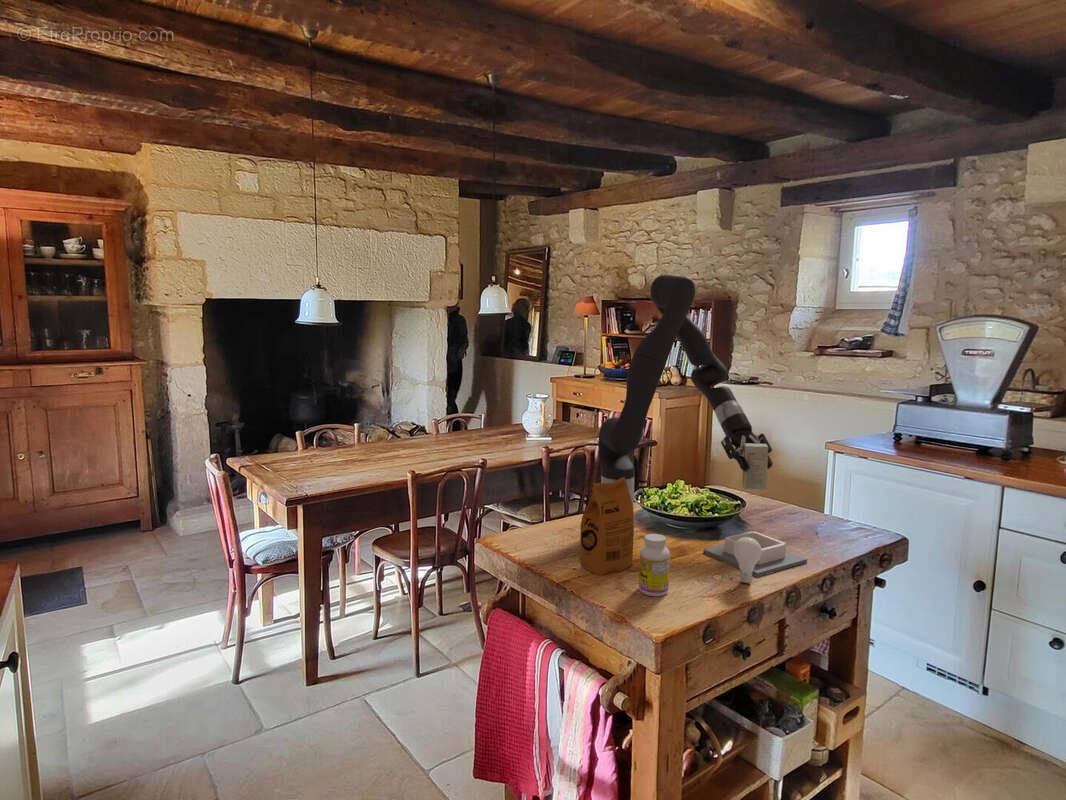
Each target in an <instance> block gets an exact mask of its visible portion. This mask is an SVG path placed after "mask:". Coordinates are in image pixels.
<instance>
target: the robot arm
mask: <svg viewBox="0 0 1066 800" xmlns="http://www.w3.org/2000/svg"><path fill="white" fill-rule="evenodd" d="M695 296H696V285H695V283H694V281H693V279H692V278H690V277H687V276H681V275H673V274H662V275H661V274H660V275H659V276H657V277H655V279H654V280H653V281H652V283H651V286H650V298H651V300H652V302H653V304H654V305H655V307H656V308H657V310H658V311H659V312H660V313H661V318H660V319H659V322H657V324H656V326H655V327H654V328H653V329H652V330H651V331H650V332H648V334H647V335H646V336H645V337H644V338H643V339H642V340H641V341H640V342H639V344H638V345H637V346H636V348H635V350H634V352H633V354H632V357H631V360H630V362H629V366H628V369H627V372H626V373H627V374H626V391H625V392H626V393H625V395H626V396H625V400H624V405H623V406H622V409H621V413H620V414H619V417H609V418H607V419H606V420H604V421H603V422H602V424H601V426H600V428H599V431H598V463H599V466H600V473H601V474H600V476H601V477H600V478H601V479H600V481H601V482H600V483H614V482H615V481H617V480H618V479H620V478H622V477H624V478H625V479H626V483H627V486H628V489H629V494H630V496H631V500H632V503H633V507H634V503H635V501H634V499H635V498H634V497H635V470H636V469H635V466H634V464H633V462H632V460H631V458H630V454H632V453H633V452H634V451H635V450H636V449H637V448H638V445H639V444H640V441H641V438H642V435H643V432H644V428H645V424H646V420H647V416H648V413H649V409H650V406H651V404H652V401H653V399H654V396H655V393H656V391H657V388H658V385H659V383H660V380H661V378H662V376H663V374H664V373H663V372H664V370H665V367H666V365H667V362H668V359H669V356H670V353H671V352H672V348H673V346H674V343H675V340H676V339H678V340H679V342H680V344H681V346H682V348H683V350H684V352H685V353H684V354H685V355H686V357H687V360H688V361H689V362H690V364H691V365H692V366H695V367H696V368H694V369H693V370H692V371H691V374H690V380H691V383H692V384H693V385H694V387H695V388H696V390H698V391H699V392H700V393H701V394H703V396H705V398H706V400H707V401H708V402H709V404H710V406H711V408H712V409H713V412H714V414H715V417H716V420H717V421H718V424H719V425H720V427H721V429H722V431H723V432H724V435H725V437H723V439H722V440H721V441H720V444H721V446H722V447H723V450H724V452H725V453H726V455H727V458H728V459H729V460H732V459H733V460H735V461H736V462H737V464H738V465H739V468H740V469H741V470H742V472H743V471H744V472H745V471H747V470H748V469H749V468H750V467H749V465H748V463H747V461H746V459H745V457H744V456H743V452H744V444H745V443H754V444H767V446H768V465H767V470H769V469H771V468H772V467H773V462H772V459H771V457H770V455H769V454H770V453H771V452H772V451H773V448H772V446H771V445H770V443H769V441H768V439H767V437H766V435H765V434H764V433H760V434H757V435H756V434H754V432H753V427H752V425H751V423H750V421H749V419H748V417H747V415H746V413H745V411H744V410H743V407H742V406H741V405H740V404H739V402H738V400H737V399H736V397H735V395H734V393H733V392H732V389H731V388H730V387H728V386H724V385H723V386H718V387H716V385H720V384H721V383H723V382H725V381H726V380H727V378H728V375H729V372H728V369H727V367H726V366H725V364H724V363H723V362H722V361H721V360H720V359H719V358H718V357H717V356H716V355H715V354H714V352H713V351H712V348H711V347H710V344H709V342H708V340H707V337H706V335H705V334H704V332H703V331H702V329H700V326H698V325H697V324H696V323H695V322H694V321H693V320H692V319H691V318H690V316H689V315H688V313H689V311H690V309H691V307H692V305H693V302H694V300H695Z"/></svg>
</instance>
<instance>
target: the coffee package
mask: <svg viewBox="0 0 1066 800" xmlns="http://www.w3.org/2000/svg"><path fill="white" fill-rule="evenodd" d="M590 489H591V491H592V494H591V495H590V498H589V502H588V504H587V506H586V507H585V510H584V511H583V514H582V516H581V521H580V543H579V544H580V545H579V546H580V547H579V562H580V565H581V567H583V568H585V569H587V571H590V572H591V573H592V574H595V575H597V576H604V575H607V574H609V573H610V572H616V573H618V572H619V573H620V572H623V571H624V570H626V569H628V568H630V567H632V566H633V562H634V561H633V559H634V539H635V537H634V533H635V529H634V528H635V525H634V524H635V516H634V515H635V514H634V506H633V503H632V500H631V496H630V494H629V489H628V486H627V483H626V479H625V478H624V477H622V478H620V479H618V480H617V481H615V482H614V483H601V482H596V483H595V482H591V484H590Z"/></svg>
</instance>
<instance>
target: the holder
mask: <svg viewBox="0 0 1066 800" xmlns="http://www.w3.org/2000/svg"><path fill="white" fill-rule="evenodd" d="M743 537H750V538H753V539H755V540H756V541H757V542H758V543H759V544H760V546H761V549H762V555H761V558H760V560H759V561H758V562H757V563H756V564H755V567H754V570H753V571H752V576H754V575H755V576H754V577H756V576H759V577H762V576H765V575H764V574H766V575H768V574H767V573H769V574H772V573H771V572H773V573H776V572H779V571H778V570H780V571H783V570H782V569H784V570H786V569H785V568H787V569H790V568H789V567H791V568H793V567H792V566H794V567H796V566H795V565H798V566H800V565H799V564H801V565H803V564H802V563H805V564H807V563H806V562H808V558H806V557H803V556H800V555H797V554H795V553H793V552H790V551H787V543H786V542H784V541H781V540H779V539H776V538H774V537H771V536H767V535H766V534H763V533H761V532H758V531H754V530H753V531H747V532H743V533H739V534H735V535H730V536H726V537H725V538H724V539H723V540H724V541H723V543H722V544H718V545H714V546H710V547H706V548H705V547H704V548H703V552H704V553H703V554H706V555H708V554H709V555H708V556H710V555H711V556H710V557H712V556H713V558H714V557H715V559H717V560H719V559H720V560H719V561H721V560H722V561H721V562H723V561H724V562H723V563H725V562H726V563H725V564H728V565H730V564H731V565H730V566H732V565H733V566H732V567H734V566H735V568H736V567H737V569H739V570H740V568H739V563H738V561H737V560H736V558H735V556H734V553H733V547H734V544H735V543H736V541H737V540H739V539H740V538H743ZM775 571H776V572H775ZM761 575H762V576H761Z"/></svg>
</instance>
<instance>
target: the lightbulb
mask: <svg viewBox="0 0 1066 800" xmlns="http://www.w3.org/2000/svg"><path fill="white" fill-rule="evenodd" d="M733 553H734V556H735V558H736V560H737V561H738V563H739V568H740V569H739V568H738V569H739V571H740V574H739V581H740V582H742V583H743V584H750V583H752V581H753V575H752V571H753V570H754V567H755V564H756V563H757V562H758V561H759V560H760V558H761V555H762V549H761V546H760V544H759V543H758V542H757V541H756V540H755V539H753V538H750V537H743V538H740V539H739V540H737V541H736V543H735V544H734V547H733Z"/></svg>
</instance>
